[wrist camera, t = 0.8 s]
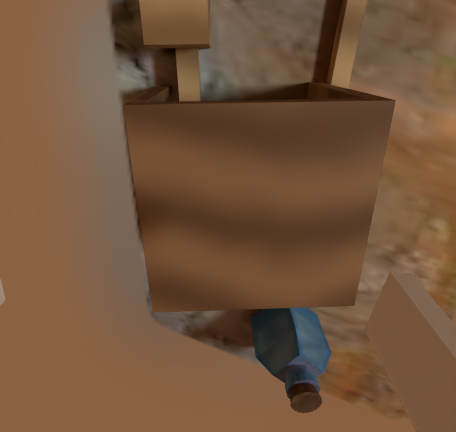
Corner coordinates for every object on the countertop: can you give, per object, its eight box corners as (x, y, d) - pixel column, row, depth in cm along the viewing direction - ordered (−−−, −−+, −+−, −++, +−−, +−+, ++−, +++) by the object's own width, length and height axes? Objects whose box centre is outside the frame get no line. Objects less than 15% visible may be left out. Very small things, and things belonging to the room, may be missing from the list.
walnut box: (161, 84, 30) (122, 104, 18) (320, 82, 31) (395, 100, 18) (174, 223, 37) (152, 312, 24) (306, 220, 37) (354, 305, 24)
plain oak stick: (353, -67, 26) (362, -75, 25) (372, -65, 26) (382, -73, 25) (323, 92, 32) (329, 93, 30) (339, 93, 32) (346, 95, 30)
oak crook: (161, -6, 27) (135, -36, 18) (302, -7, 28) (344, -37, 19) (178, 201, 36) (166, 250, 27) (287, 198, 36) (311, 246, 27)
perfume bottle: (284, 290, 42) (309, 372, 31) (316, 314, 43) (349, 399, 33) (250, 318, 43) (262, 405, 33) (282, 340, 45) (303, 429, 35)
